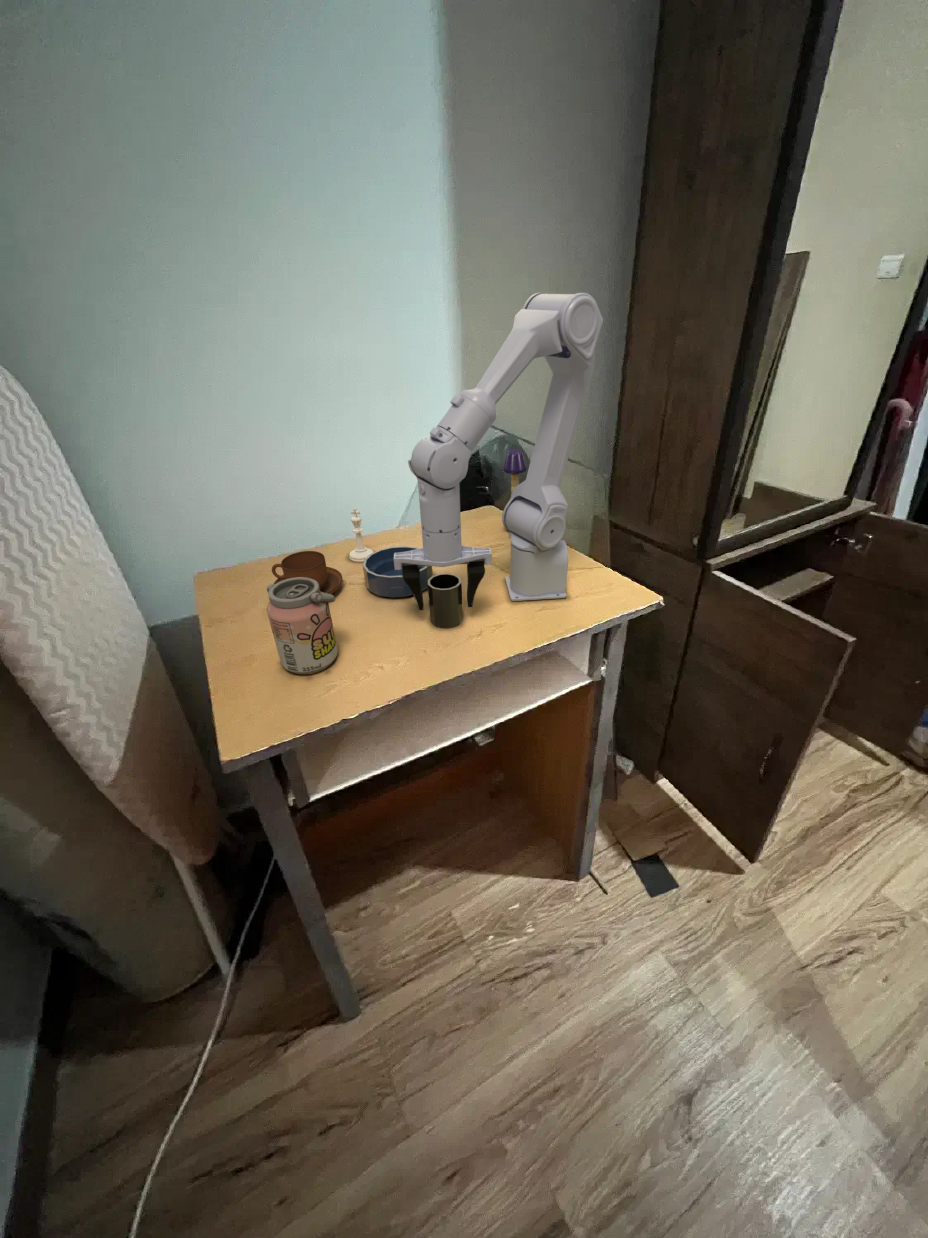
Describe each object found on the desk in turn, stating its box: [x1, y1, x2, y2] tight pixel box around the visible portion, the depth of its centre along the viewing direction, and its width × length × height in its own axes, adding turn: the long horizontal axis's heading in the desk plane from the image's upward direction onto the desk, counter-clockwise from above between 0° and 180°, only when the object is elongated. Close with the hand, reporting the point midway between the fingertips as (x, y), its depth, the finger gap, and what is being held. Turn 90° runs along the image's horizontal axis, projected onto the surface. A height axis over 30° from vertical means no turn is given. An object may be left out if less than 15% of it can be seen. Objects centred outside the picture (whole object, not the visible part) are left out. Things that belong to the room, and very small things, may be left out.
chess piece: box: [348, 507, 375, 563], centre depth 102 cm, size 5×5×10 cm
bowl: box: [362, 545, 434, 598], centre depth 94 cm, size 12×12×4 cm
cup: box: [427, 572, 464, 629], centre depth 83 cm, size 5×5×7 cm
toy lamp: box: [503, 448, 527, 532], centre depth 110 cm, size 5×5×17 cm
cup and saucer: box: [271, 550, 343, 595], centre depth 92 cm, size 12×12×6 cm
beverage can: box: [266, 577, 339, 676], centre depth 74 cm, size 9×8×12 cm
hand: (445, 605), depth 83 cm, fingers open, 7 cm apart
